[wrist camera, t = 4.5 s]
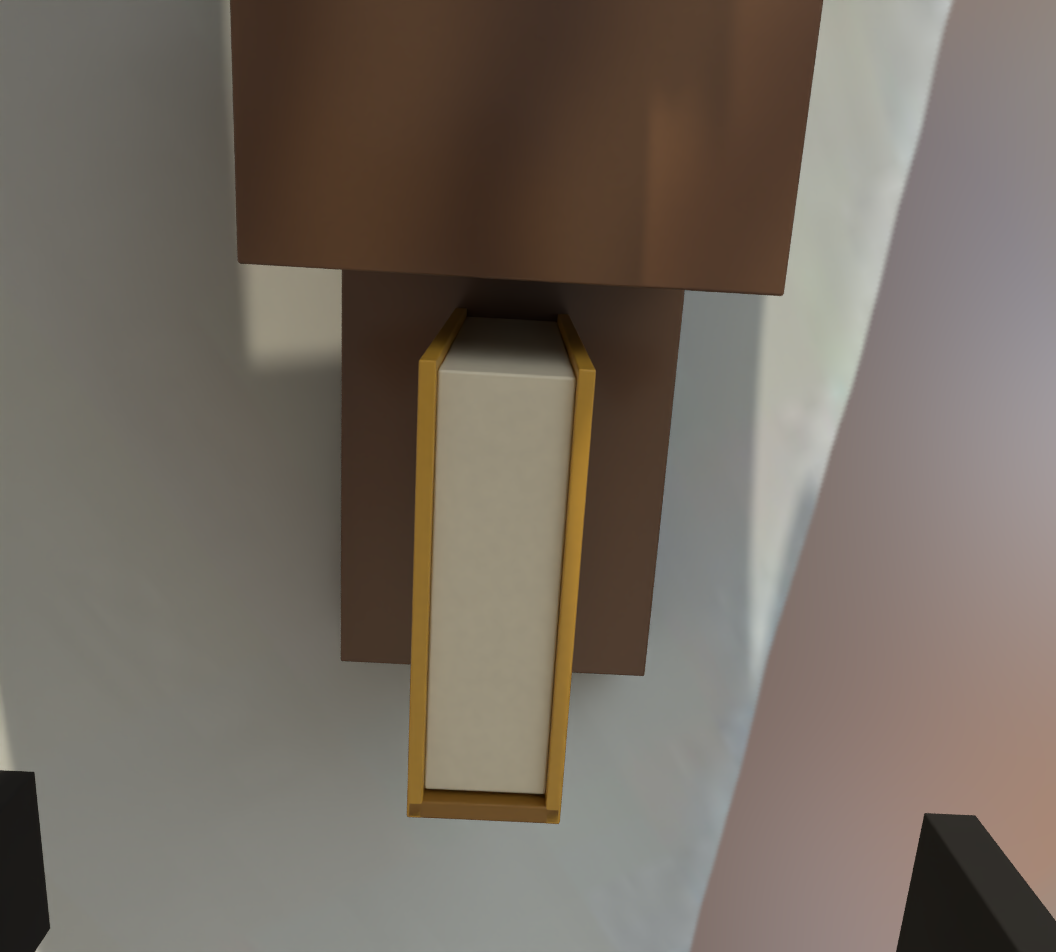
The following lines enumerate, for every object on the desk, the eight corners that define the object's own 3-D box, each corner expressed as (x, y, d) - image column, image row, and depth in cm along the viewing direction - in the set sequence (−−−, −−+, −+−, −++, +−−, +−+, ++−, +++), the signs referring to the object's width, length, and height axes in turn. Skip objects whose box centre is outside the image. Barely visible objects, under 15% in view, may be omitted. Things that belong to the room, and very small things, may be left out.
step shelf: (346, 627, 38) (253, 849, 25) (350, -201, 30) (213, -536, 17) (642, 642, 39) (707, 869, 25) (726, -174, 30) (889, -482, 17)
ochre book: (444, 620, 35) (406, 817, 24) (455, 307, 32) (418, 359, 20) (547, 625, 35) (559, 825, 24) (569, 314, 32) (596, 369, 20)
